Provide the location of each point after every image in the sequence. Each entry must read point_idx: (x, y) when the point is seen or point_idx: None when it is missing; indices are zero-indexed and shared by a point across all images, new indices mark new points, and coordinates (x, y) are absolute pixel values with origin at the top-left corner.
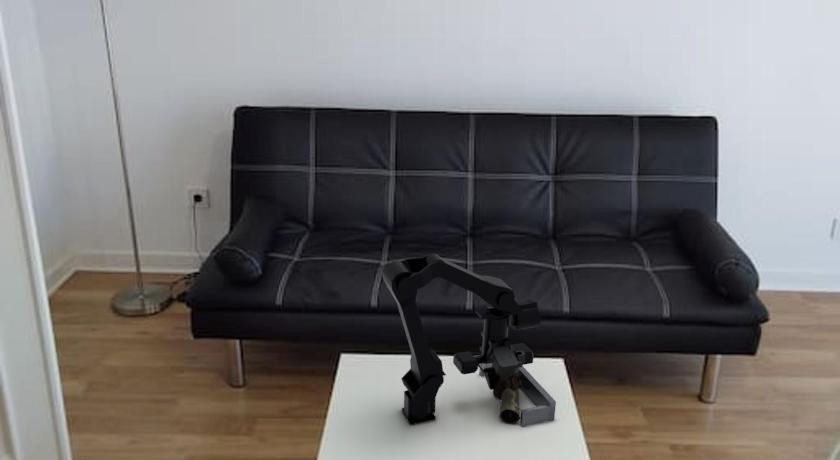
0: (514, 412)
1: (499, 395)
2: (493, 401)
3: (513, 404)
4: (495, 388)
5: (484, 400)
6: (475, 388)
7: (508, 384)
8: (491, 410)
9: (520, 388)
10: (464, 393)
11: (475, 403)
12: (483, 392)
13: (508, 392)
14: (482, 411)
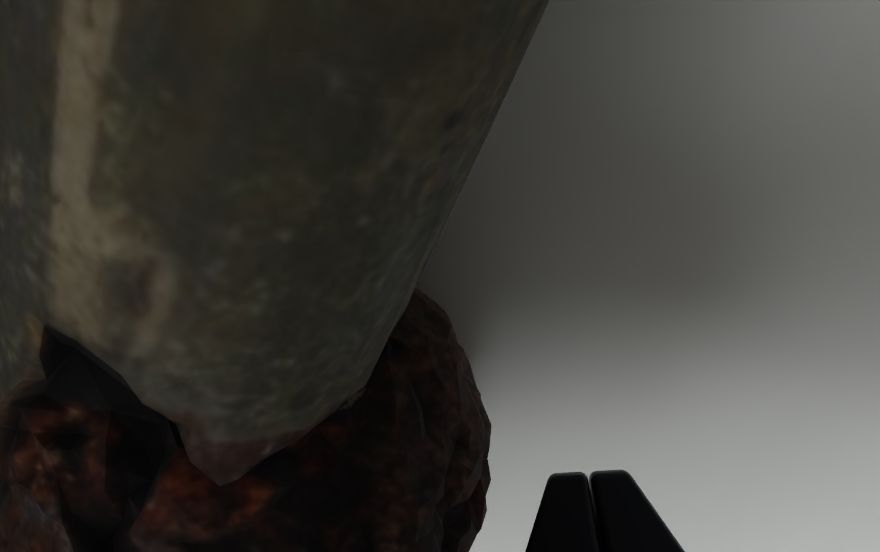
0: None
1: (427, 337)
2: (510, 284)
3: None
4: (467, 496)
5: (640, 330)
6: None
7: (182, 545)
8: (669, 46)
9: None
10: (821, 496)
11: (823, 290)
12: None
13: (246, 295)
14: (859, 50)
